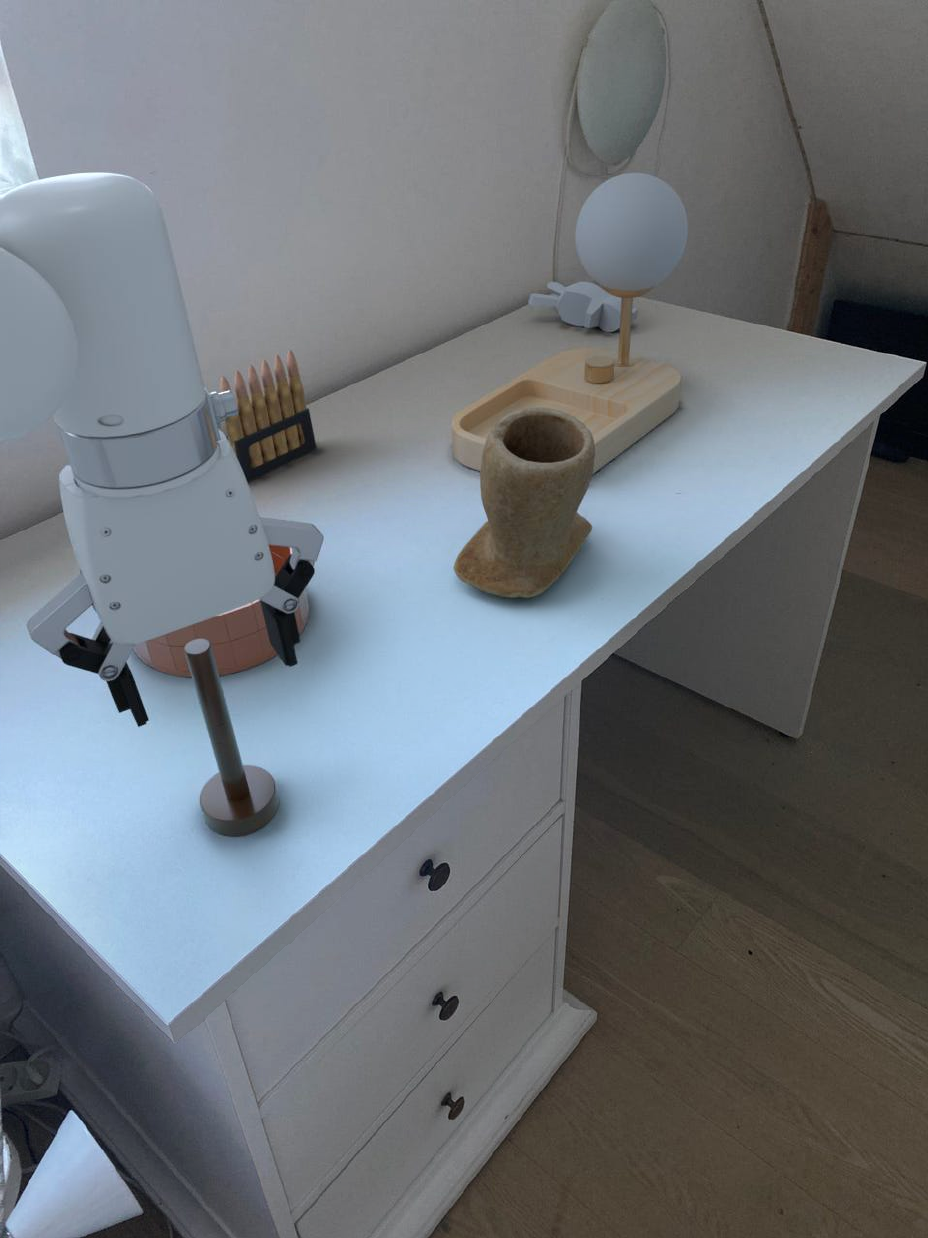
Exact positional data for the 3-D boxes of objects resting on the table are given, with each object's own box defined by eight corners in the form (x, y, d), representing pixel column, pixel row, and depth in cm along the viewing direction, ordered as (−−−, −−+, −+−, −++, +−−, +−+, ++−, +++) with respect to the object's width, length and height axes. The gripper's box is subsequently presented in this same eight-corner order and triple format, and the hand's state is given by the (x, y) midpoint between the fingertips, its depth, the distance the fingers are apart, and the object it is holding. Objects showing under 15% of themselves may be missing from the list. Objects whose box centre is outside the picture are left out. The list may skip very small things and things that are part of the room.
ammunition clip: (306, 444, 111) (290, 344, 103) (317, 448, 110) (301, 348, 102) (232, 479, 105) (210, 376, 97) (242, 484, 104) (220, 381, 96)
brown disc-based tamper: (218, 848, 64) (167, 685, 55) (194, 799, 67) (143, 639, 58) (290, 816, 66) (252, 654, 57) (263, 770, 69) (224, 610, 60)
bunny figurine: (619, 312, 129) (524, 284, 135) (613, 348, 132) (521, 319, 138) (648, 292, 135) (556, 265, 141) (641, 326, 139) (552, 299, 144)
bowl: (159, 702, 76) (141, 644, 72) (111, 605, 87) (93, 550, 83) (337, 635, 82) (328, 578, 78) (271, 552, 92) (260, 499, 89)
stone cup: (555, 624, 81) (559, 469, 72) (438, 588, 86) (427, 439, 77) (623, 538, 92) (633, 393, 83) (514, 510, 97) (513, 371, 88)
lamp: (560, 500, 98) (565, 248, 83) (433, 456, 107) (416, 222, 92) (707, 388, 118) (733, 169, 103) (590, 359, 127) (597, 154, 112)
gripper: (270, 371, 55) (315, 605, 65) (-45, 457, 49) (61, 701, 59) (322, 418, 50) (362, 664, 60) (-23, 520, 43) (88, 776, 54)
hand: (213, 682), depth 60 cm, fingers open, 9 cm apart
